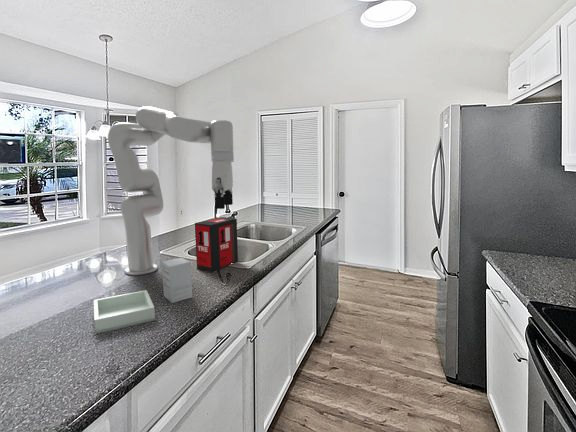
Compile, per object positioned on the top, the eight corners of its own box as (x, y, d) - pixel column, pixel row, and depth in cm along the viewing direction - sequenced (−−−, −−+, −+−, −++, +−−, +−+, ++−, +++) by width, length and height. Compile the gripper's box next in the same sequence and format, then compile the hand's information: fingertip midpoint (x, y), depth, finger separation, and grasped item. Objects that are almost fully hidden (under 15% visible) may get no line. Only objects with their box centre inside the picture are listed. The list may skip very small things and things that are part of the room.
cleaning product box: (212, 272, 137) (210, 225, 134) (197, 269, 142) (194, 223, 138) (237, 262, 152) (236, 218, 148) (222, 259, 156) (221, 217, 153)
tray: (95, 312, 102) (93, 299, 101) (147, 301, 110) (146, 290, 109) (95, 333, 89) (94, 320, 89) (155, 320, 97) (154, 307, 96)
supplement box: (184, 291, 118) (182, 256, 116) (193, 297, 113) (191, 261, 110) (163, 296, 114) (160, 260, 111) (171, 303, 108) (169, 266, 106)
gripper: (219, 157, 124) (221, 203, 127) (203, 157, 107) (205, 210, 110) (239, 157, 123) (240, 203, 126) (225, 157, 106) (227, 210, 109)
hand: (224, 206), depth 118 cm, fingers open, 9 cm apart
